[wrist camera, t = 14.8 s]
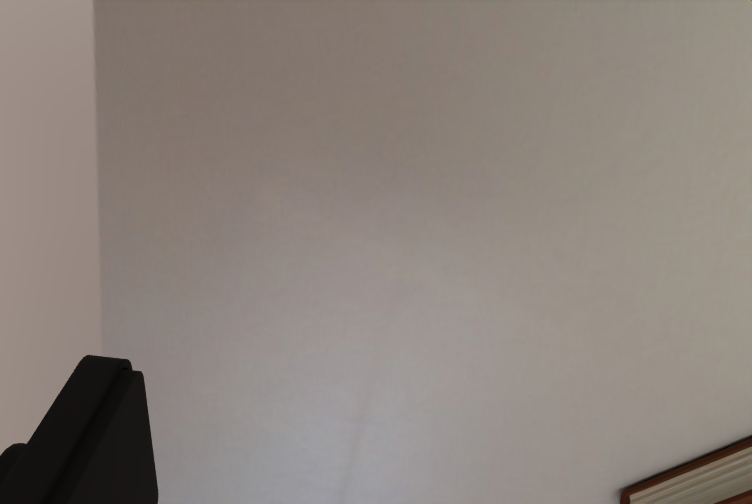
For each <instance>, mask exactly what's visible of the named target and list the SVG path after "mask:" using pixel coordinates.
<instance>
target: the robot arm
mask: <svg viewBox="0 0 752 504" xmlns="http://www.w3.org/2000/svg"><path fill="white" fill-rule="evenodd" d="M0 504H158V486H157V478H156V470H155V462H154V455H153V447H152V439H151V431H150V423H149V415H148V407H147V399H146V391H145V383H144V377H143V374H142V372H141V371H133V370H132V365H131V363H130V361H129V360H127V359H119V358H110V357H102V356H93V355H87V356H85V357H83V359H82V360H81V361H80V362H79V364H78V365H77V367H76V369H75V370H74V372H73V373H72V375H71V376H70V378H69V380H68V381H67V383H66V384H65V386H64V387H63V389H62V390H61V392H60V394H59V395H58V396H57V398H56V399H55V401H54V403H53V404H52V406H51V407H50V409H49V410H48V412H47V414H46V415H45V417H44V418H43V420H42V421H41V423H40V424H39V426H38V427H37V429H36V431H35V432H34V434H33V435H32V437H31V439H30V440H29V441H28V443H27V444H24V443H18V444H13V445H11V446H10V447H9V448H7V449H6V450H5V451H4V452H3V453H2V454H1V456H0Z"/></svg>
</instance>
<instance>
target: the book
mask: <svg viewBox="0 0 752 504" xmlns="http://www.w3.org/2000/svg"><path fill="white" fill-rule="evenodd" d="M620 504H752V438H751V439H748V440H746V441H743V442H741V443H739V444H736V445H734V446H731V447H729V448H726V449H724V450H721V451H719V452H716V453H714V454H712V455H709V456H707V457H704V458H702V459H699V460H697V461H694V462H692V463H689V464H687V465H685V466H682V467H680V468H677V469H675V470H672V471H670V472H667V473H665V474H662V475H660V476H657V477H655V478H653V479H650V480H648V481H645V482H643V483H640V484H638V485H635V486H633V487H630V488H628V489H626V490H625V491H624V492H622V496H621V499H620Z"/></svg>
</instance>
